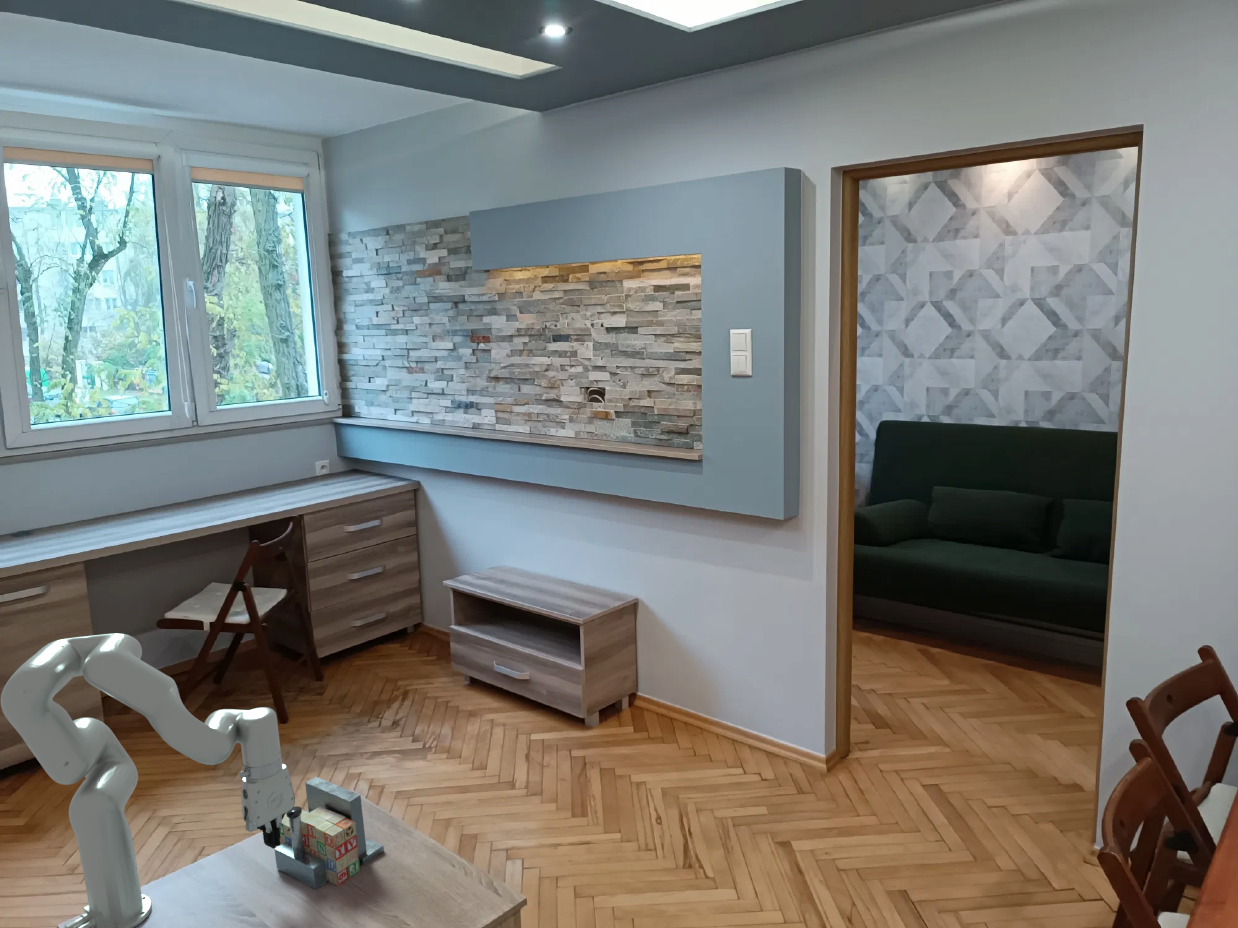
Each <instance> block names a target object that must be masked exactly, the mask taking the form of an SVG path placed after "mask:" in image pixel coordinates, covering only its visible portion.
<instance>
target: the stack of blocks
mask: <svg viewBox="0 0 1238 928" xmlns="http://www.w3.org/2000/svg"><path fill="white" fill-rule="evenodd" d="M300 817H301V825H302V833H303V841H304V849H305V851H307V852H309V853H312V854H314V855H316V856H318V857H320V858H322V859H324V860H326V861H327V866H328V874H329V880H327V882H330V883H332V884H334V885H336V886H338V887H339V885H341V884H343V883H345V882H346V881H347V880H348V879H350V878H351V877H352V876H355V875H356V874H357V873H359V872H360V870H361V869H360V868H361V867H360V864H359V859H358V848H357V846H358V844H357V835H356V825H355V822H354V821H352V820H350V819H347V818H346V817H344V816H342V815H340V814H337V813H335V812H332V811H330V810H327V809H325V808H322V807H318V808H316V809H315V810H313V811H311V812H310V813H309V811H307V810H303V809H302V813H301V815H300ZM279 829H280V845H282V844H283V843H285V842H289V843H291V844H292V839H291V831H290V823H289V818H288V817H287V815H286V813H285V815H284V817H283V819H282V824H281V826H280V827H279ZM280 845H279V846H280Z"/></svg>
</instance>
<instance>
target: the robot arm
mask: <svg viewBox="0 0 1238 928" xmlns="http://www.w3.org/2000/svg"><path fill="white" fill-rule="evenodd" d="M142 656H143V649H142V645H141V643H140V641H139V640H137V639H136V638H135V637H134V636H131V635H129V634H126V633H104V634H103V633H101V634H96V635H94V634H93V635H88V636H87V635H86V636H77V637H76V636H75V637H68V638H63V639H57V640H53V641H52V642H49V643H47V644H45V645H44V646H43V647H41V648H40V649H39V650H38V651H36V653H35V654H33V655H32V656H31V657H29V658H28V659H27V660H26V661H25V662H23V664H21V666H20V667H19V668H17V669H16V671H14V673H13V674H12V675H11V676H10V677H9V679H8V680H7V682H6V684H5V685H4V687H3V688H2V692H1V693H0V707H1V711H2V713H3V715H4V716H5V718H6V719H7V721H8V722H9V723H10V725H11V726H12V727H13V729H15V731H16V732H17V733H18V734H19V736H20V737H21V738H22V740H23V741H24V743H25V744H26V746H27V747H28V748H29V750H30V751H31V752H32V754H33V756H34V757H35V758H36V760H37V761H38V762H39V764H40V766H41V767H42V769H43V770H44V771H45V773H46V774H47V775H48V776H49V777H50V779H51V780H53V781H54V783H55V782H56V783H57V784H59V785H64V786H65V785H66V786H69V785H73V784H75V783H77V782H79V781H81V780H83V779H84V778H85V779H84V780H83V781H82V783H81V784H80V786H79V787H78V789H77V790H76V791H75V793H74V795H73V796H72V799H71V800H70V801H71V802H70V803H69V808H68V817H69V822H70V826H71V827H72V831H73V832H74V835H75V838H76V843H77V846H78V851H79V857H80V861H81V866H82V873H83V878H84V884H85V891H86V896H87V903H88V905H86V906H84V907H83V911H84V913H82V914H80V917H78V918H77V919H75V920H72V921H70V922H68V923H66V924H65V925H64V928H135V927H137V926H138V925H140V924H141V923H143V921H145V920H146V919H147V918H148V916H149V915H150V913H151V911H152V908H153V906H152V900H151V898H150V897H149V896H148V895H145V894H142V889H141V883H140V876H139V871H138V870H139V869H138V864H137V857H136V852H135V846H134V845H135V844H134V841H133V833H132V829H131V827H130V824H129V822H128V820H127V817H126V815H125V814H126V813H125V808H126V807H125V806H126V804H127V803H128V801H129V799H130V797H131V796H132V794H133V793H134V791H135V789H136V787H137V784H138V781H139V773H138V769H137V767H136V765H135V762H134V761H133V759H132V758H131V757H130V755H129V754H128V753H127V751H126V749H125V747H124V746H123V745H122V743H120V742H121V741H119V740H118V738H117V737H116V735H115V734H114V732H113V731H112V729H111V728H110V727H109V726H108V725H107V724H105V723H104V722H103V721H101V720H99V719H97V718H94V717H80V718H77V719H74V720H73V719H72V717H71V715H69V712H68V711H67V710H66V709H65V708H64V707H63V706H62V705H60V704H59V703H57V702H56V701H54V700H53V699H54V697H55V696H56V694H57V693H59V692H60V691H61V690H62V689H63V688H64V687H65V686H66V685H67V684H68V683H69V682H71V680H72V679H74V678H75V677H82V676H83V677H84V680H85V681H86V682H87V683H89V685H91V686H92V687H94V688H96V689H97V690H99V691H101V692H103V693H104V694H106V695H108V696H110V697H111V698H113V699H115V700H116V701H119V702H120V703H122V704H124V705H125V706H127V707H129V708H131V710H133V711H136V712H137V713H138V714H141V715H142V716H143V717H145V718H146V719H147V720H148V722H149V723H150V724H149V725H150V726H152V728H153V730H155V732H156V733H157V734H158V735H159V737H160V738H161V739H162V740H163V741H164V742H165V743H166V744H167V745H168V746H169V747H171V748H172V749H174V750H176V751H177V752H179V753H180V754H182V755H184V756H185V757H188V758H190V759H191V760H193V761H195V762H196V763H200V764H202V765H203V764H204V765H208V766H209V765H211V766H213V765H214V766H215V765H218V764H221V763H223V762H224V761H226V760H227V759H228V758H229V757H230V755H231V754H232V752H233V750H234V748H235V747H236V745H237V744H240V747H241V755H242V763H243V765H242V769H243V770H241V771H240V772H239V774H238V776H239V778H240V779H242V780H241V793H240V794H241V798H240V799H241V812H242V813H241V814H242V817H243V818H242V819H243V821H244V822H245V831H246V832H249V833H252V832H255V831H257V830H258V831H259V830H260V831H262V839H263V844H264V845H265V846H267V847H269V848H270V849H272V850H273V849H274V850H275V848H276V847H278V846H279V845H280V829H279V827H280V826H281V824H282V819H283V817H284V815H285V814H286V813H287V812H288V811H290V810H291V809H292V808H293V807H295V805H296V797H295V792H294V786H293V782H292V778H291V775H290V772H289V769H288V768H287V765H286V764H284V763H283V759H282V750H281V743H280V733H279V726H278V725H279V724H278V718H277V717H278V716H277V713H276V711H275V710H274V709H273V708H270V707H265V706H264V707H263V706H261V707H255V708H251V709H234V708H223V709H218V710H215V711H213V712H212V713H210V714H209V715H208V717H207V718H206V720H204V722H202V720H199V719H198V718H197V717H195V716H194V715H193V714H192V713H191V712H189V710H188V709H187V708H186V706H185V704H184V703H183V701H182V699H181V696H180V692H179V688H178V685H177V684H176V682H175V680H174V678H172V677H171V676H169V675H167V674H165V673H164V672H162V671H160V670H158V669H157V668H155V667H153V666H152V665H151V664H148V663H147V662H145V661H143V660H142Z"/></svg>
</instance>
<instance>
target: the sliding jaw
mask: <svg viewBox="0 0 1238 928" xmlns="http://www.w3.org/2000/svg"><path fill="white" fill-rule="evenodd" d="M302 810H303V809H302V807H301V806H297V805H296V806H295V805H294V807H293V808H292V809H291V810H290V811H288V812H287V813H285V814H286V815H287V817H288V818H289V823H290V831H291V839H292V844H291V843H289V842H285V843H283V844H282V845H280V846H276V848H274V856H275V864H276V869H277V870H279V871H281V872H283V873H285V874H287V875H288V876H290V877H292V878H294V879H295V880H298V881H299V882H302V883H304V884H305V885H306V886H309V887H310V888H313V889H315V890H317V889H319V888H320V887H322V886H323V885H325V884H326V883H328V880H329V874H328V866H327V861H326V860H324V859H322V858H320V857H318V856H316V855H314V854H312V853H309V852H307V851H305V849H304V841H303V833H302V825H301V817H300V815H301V813H302Z"/></svg>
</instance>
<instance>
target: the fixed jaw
mask: <svg viewBox="0 0 1238 928" xmlns="http://www.w3.org/2000/svg"><path fill="white" fill-rule="evenodd" d="M304 784H305V791H306V800H307V808H308V812H309V813H310V812H311V811H313V810H315V809H316V808H318V807H322V808H325V809H327V810H330V811H332V812H335V813H337V814H340V815H342V816H344V817H346V818H347V819H350V820H352V821H354V822H355V825H356V835H357V844H358V846H357V848H358V859H359V865H361V866H364V865H366V864H367V863H369V862H370V861H372V860H373V859H375V858H377V857H378V856H379V855H380V854H383V853H384V852H385V849H384V847H385V846H384V845H383V844H381V843H379V842H377V841H375V840H373V839H370V838H368V837H366V835H365V834H366V833H365V824H364V823H365V822H364V816H363V815H364V814H363V807H362V806H363V805H362V798H361V794H359V793H356V792H354V791H352V790H349V789H346V788H345V787H342V786H340V785H337V784H335V783H332V782H330V781H328V780H326V779H322V778H321V777H318V776H314V777H313V778H311V779H309V780H307V781H306V782H304Z"/></svg>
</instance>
